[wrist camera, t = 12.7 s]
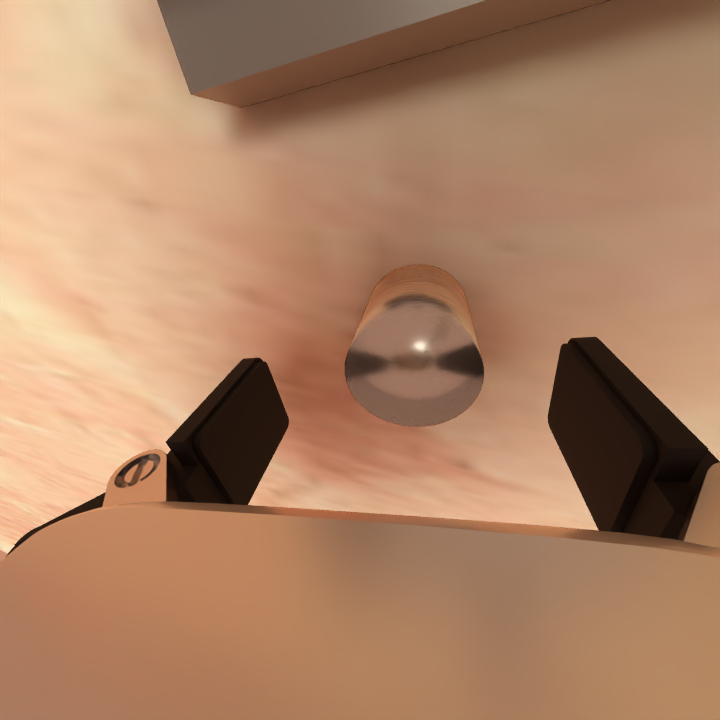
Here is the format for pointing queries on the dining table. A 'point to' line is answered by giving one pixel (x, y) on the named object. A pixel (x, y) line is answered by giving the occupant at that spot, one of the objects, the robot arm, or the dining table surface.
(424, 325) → the cylinder
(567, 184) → the dining table surface
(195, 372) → the dining table surface
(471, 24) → the scale
